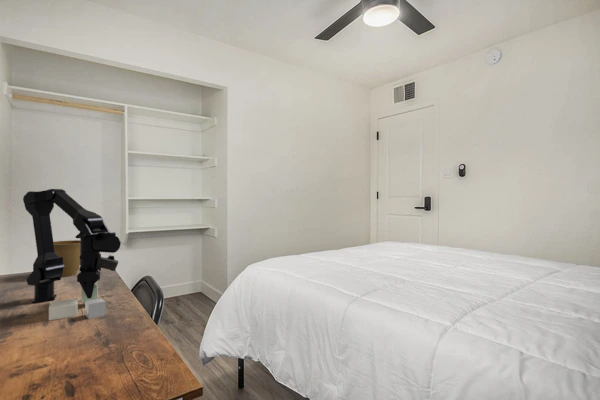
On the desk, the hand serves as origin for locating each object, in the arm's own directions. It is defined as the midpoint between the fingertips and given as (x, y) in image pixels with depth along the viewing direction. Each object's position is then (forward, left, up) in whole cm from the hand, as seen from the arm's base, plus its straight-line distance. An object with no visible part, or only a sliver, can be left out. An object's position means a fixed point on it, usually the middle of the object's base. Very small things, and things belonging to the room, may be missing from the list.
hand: (90, 296), depth 112 cm
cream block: (+8, -7, -3) cm, 10 cm away
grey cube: (+13, +2, -3) cm, 13 cm away
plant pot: (-57, -12, -3) cm, 58 cm away
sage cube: (0, 0, -1) cm, 1 cm away
